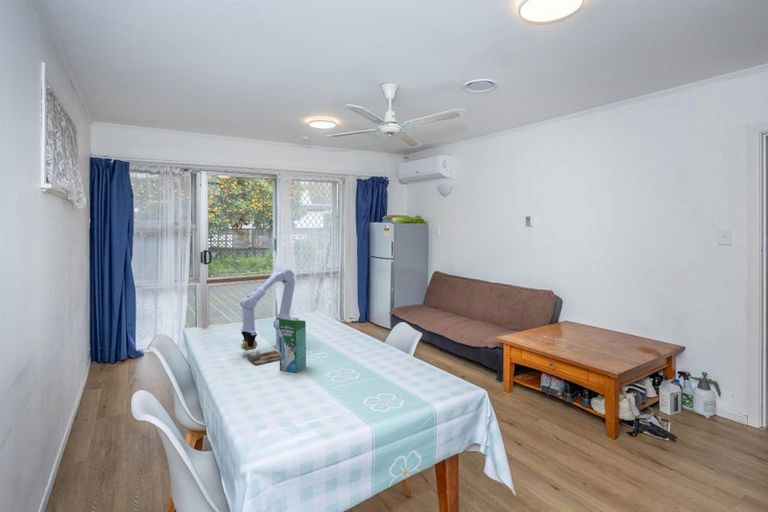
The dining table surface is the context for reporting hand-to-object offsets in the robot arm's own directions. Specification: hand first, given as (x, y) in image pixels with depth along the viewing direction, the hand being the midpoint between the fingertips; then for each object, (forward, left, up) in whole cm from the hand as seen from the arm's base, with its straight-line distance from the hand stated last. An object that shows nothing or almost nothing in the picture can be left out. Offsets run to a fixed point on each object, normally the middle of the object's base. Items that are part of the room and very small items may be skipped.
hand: (249, 345), depth 208 cm
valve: (0, 0, -2) cm, 2 cm away
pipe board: (-5, +11, -5) cm, 13 cm away
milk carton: (-10, +31, -5) cm, 33 cm away
